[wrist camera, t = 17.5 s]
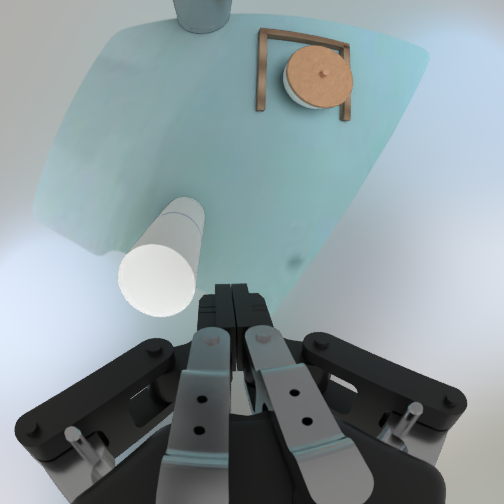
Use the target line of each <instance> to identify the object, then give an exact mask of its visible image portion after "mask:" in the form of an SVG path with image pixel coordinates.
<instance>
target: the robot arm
mask: <svg viewBox="0 0 504 504" xmlns="http://www.w3.org/2000/svg"><path fill="white" fill-rule="evenodd" d="M173 2H174V6H175V10H176V14H177V18H178V21H179V23H180V25H181V26H182V27H183V28H184V29H185V30H187V31H189V32H192V33H200V34H203V33H210V32H213V31H216V30H218V29H220V28H221V27H223V26H224V25H225V24H226V23H227V21H228V19H229V17H230V10H231V4H232V0H173ZM236 363H237V370H238V371H243V372H244V387H245V391H246V395H247V398H248V402H249V406H250V409H251V413H252V415H250V416H244V415H237V414H231V382H232V379H233V377H232V371H236ZM331 374H332V375H334V376H336V377H338V378H340V379H342V380H344V381H346V382H348V383H350V384H352V385H353V386H354V387H355V388H356V389H357V392H358V393H356V392H354V391H352V390H350V389H348V388H346V387H344V386H342V385H340V384H338V383H336V382H334V381H332V380H330V377H331ZM145 387H147V388H145ZM144 388H145V389H144ZM143 389H144V390H143ZM141 390H143V391H141ZM140 391H141V392H140ZM138 392H140V393H139V394H137V393H138ZM136 394H137V395H136ZM134 395H136V396H134ZM133 396H134V397H133ZM132 397H133V398H132ZM130 398H132V399H130ZM466 407H467V399H466V397H465V395H464V394H463V393H462V392H461V391H460V390H459V389H457V388H454V387H452V386H449V385H446V384H444V383H441V382H439V381H437V380H434V379H431V378H429V377H427V376H424V375H422V374H419V373H417V372H414V371H412V370H410V369H407V368H405V367H403V366H400V365H398V364H395V363H393V362H391V361H388V360H386V359H384V358H382V357H379V356H377V355H375V354H372V353H370V352H368V351H365V350H363V349H361V348H359V347H357V346H354V345H352V344H350V343H348V342H346V341H343V340H341V339H339V338H337V337H334V336H333V335H330V334H327V333H324V332H314V333H310V334H308V335H307V336H306V337H305V338H304V340H303V342H301V341H293V340H288V339H285V338H283V337H282V335H281V333H280V332H279V330H277V329H276V328H274V326H273V323H272V321H271V318H270V315H269V312H268V309H267V306H266V303H265V300H264V298H263V297H262V296H261V295H259V294H258V293H249V291H248V287H247V284H246V283H244V284H231V287H230V284H215V294H208V295H203V297H202V298H201V299H200V300H199V310H198V324H197V332H196V333H195V334H194V336H193V339H192V341H190V342H189V343H187V344H184V345H180V346H176V347H173V346H172V344H171V343H170V342H169V341H167V340H165V339H161V338H152V339H148V340H145V341H143V342H142V343H140V344H138V345H137V346H135V347H134V348H132V349H130V350H129V351H127V352H126V353H124V354H123V355H121V356H119V357H118V358H116V359H115V360H113V361H111V362H110V363H108V364H106V365H105V366H103V367H102V368H100V369H98V370H97V371H95V372H93V373H92V374H90V375H89V376H87V377H85V378H84V379H82V380H80V381H79V382H77V383H75V384H74V385H72V386H71V387H69V388H67V389H66V390H64V391H62V392H61V393H59V394H57V395H56V396H54V397H52V398H51V399H49V400H47V401H46V402H44V403H42V404H41V405H39V406H37V407H35V408H34V409H32V410H30V411H29V412H27V413H25V414H24V415H22V416H21V417H20V418H19V419H18V420H17V422H16V425H15V436H16V438H17V440H18V441H19V442H20V443H21V444H22V445H23V446H24V447H25V449H27V451H28V452H29V453H30V454H31V456H32V457H33V458H34V459H35V460H36V461H37V462H38V463H40V464H41V465H42V466H43V467H44V469H45V470H46V472H47V473H48V475H49V476H50V478H51V479H52V480H53V482H54V483H55V485H56V486H57V487H58V489H59V490H60V491H61V493H62V494H63V495H64V497H65V498H66V499H67V500H68V501H69V503H70V504H445V499H446V486H445V482H444V479H443V477H442V475H441V473H440V472H439V471H438V470H437V469H436V468H435V467H434V466H435V464H436V462H437V459H438V456H439V454H440V452H441V449H442V446H443V444H444V441H445V438H446V435H447V432H448V431H449V430H450V429H451V427H452V426H453V425H454V424H455V422H456V421H457V420H458V419H459V417H460V416H461V415H462V414H463V412H464V411H465V409H466ZM173 411H174V412H173ZM172 412H173V418H172V423H171V424H169V425H167V426H165V427H163V428H161V429H159V430H158V431H156V432H155V433H154V434H153V435H152V436H150V437H149V438H148V439H147V440H146V441H145V442H144V443H143V444H141V445H140V446H139V447H138V448H137V449H136V450H135V451H134V452H132V453H131V454H130V455H129V456H128V457H126V458H125V459H124V460H123V461H122V462H120V463H119V464H118V465H117V466H116V467H115V458H116V457H118V456H119V455H120V454H122V453H123V452H124V451H125V450H127V449H128V448H129V447H130V446H132V445H133V444H134V443H136V442H137V441H138V440H139V439H141V438H142V437H143V436H144V435H145V434H147V433H148V432H149V431H151V430H152V429H153V428H154V427H155V426H157V425H158V424H159V423H160V422H161V421H163V420H164V419H165V418H166V417H167V416H168V415H169V414H171V413H172Z"/></svg>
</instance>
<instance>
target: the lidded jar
mask: <svg viewBox="0 0 504 504" xmlns="http://www.w3.org/2000/svg"><path fill="white" fill-rule="evenodd" d="M283 83H284V87H285V90H286V91H287V93H288V95H289V96H290V97H291V98H292V99H293V100H294V101H295V102H296V103H298V104H300V105H301V106H304V107H307V108H311V109H325V108H331V107H335V106H338V105H340V104H342V103H343V102H344V101H346V100H347V98H348V97H349V96H350V94H351V91H352V88H353V77H352V73H351V70H350V68H349V66H348V64H347V63H346V62H345V60H344V59H343V58H342V57H341V56H340V55H339V54H337V53H336V52H334V51H333V50H331V49H329V48H326V47H323V46H316V45H312V46H306V47H303V48H301V49H299V50H297V51H296V52H295V53H294V54H293V55H292V56H291V57H290V59H289V61H288V62H287V64H286V66H285V69H284V73H283Z"/></svg>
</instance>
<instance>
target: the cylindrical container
mask: <svg viewBox="0 0 504 504" xmlns="http://www.w3.org/2000/svg"><path fill="white" fill-rule="evenodd" d="M204 221H205V213H204V210H203V208H202V206H201V205H200V204H199V202H197V201H196V200H194V199H192V198H189V197H179V198H176V199H175V200H173V201H172V202H170V203H169V204H168V206H167V207H166V208H165V209H164V210H163V211H162V212H161V214H160V215H159V216H158V217H157V218H156V219H155V220H154V222H153V223H152V224H151V225H150V226H149V228H148V229H147V230H146V231H145V232H144V234H143V235H142V236H141V237H140V238H139V240H138V241H137V242H136V243H135V245H134V246H133V247H132V248H131V250H130V251H129V252H128V253H127V255H126V256H125V257H124V259H123V261H122V262H121V264H120V267H119V272H118V282H119V286H120V290H121V292H122V293H123V296H124V297H125V299H126V300H127V301H128V302H129V303H130V304H131V305H132V306H133V307H134V308H135V309H137V310H138V311H140V312H142V313H144V314H147V315H150V316H156V317H167V316H171V315H175V314H176V313H179V312H181V311H182V310H183V309H185V308H186V307H187V306H188V304H189V303H190V302H191V300H192V298H193V296H194V292H195V287H196V278H197V270H198V263H199V255H200V248H201V241H202V234H203V228H204Z"/></svg>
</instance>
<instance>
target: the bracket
mask: <svg viewBox="0 0 504 504" xmlns="http://www.w3.org/2000/svg"><path fill="white" fill-rule="evenodd" d="M267 38H269V39H278V40H286V41H293V42H299V43H305V44H311V45H316V46H323V47H326V48H330V49H335V50H339V55H340V56H341V57H342V58H343V59H344V60H345V62H346V63H347V64H348V66H349V68H350V46H349V44H348V43H344V42H340V41H336V40H332V39H328V38H323V37H319V36H314V35H308V34H303V33H297V32H291V31H284V30H276V29H267V28H260V30H259V37H258V66H257V96H256V111H264V110H265V100H266V67H267ZM350 119H351V94H350V96H349V97H348V98H347V100H346V101H344V102H343V103H342V104H340V120H341V121H350Z"/></svg>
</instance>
